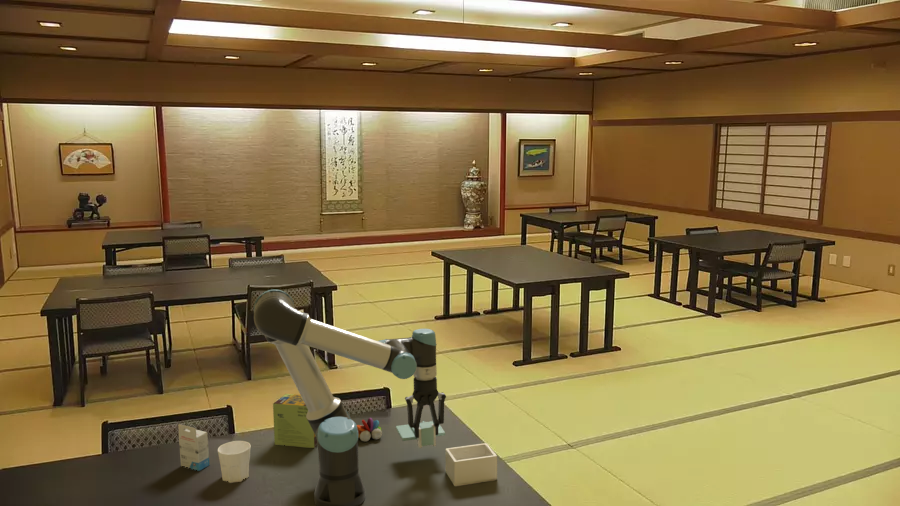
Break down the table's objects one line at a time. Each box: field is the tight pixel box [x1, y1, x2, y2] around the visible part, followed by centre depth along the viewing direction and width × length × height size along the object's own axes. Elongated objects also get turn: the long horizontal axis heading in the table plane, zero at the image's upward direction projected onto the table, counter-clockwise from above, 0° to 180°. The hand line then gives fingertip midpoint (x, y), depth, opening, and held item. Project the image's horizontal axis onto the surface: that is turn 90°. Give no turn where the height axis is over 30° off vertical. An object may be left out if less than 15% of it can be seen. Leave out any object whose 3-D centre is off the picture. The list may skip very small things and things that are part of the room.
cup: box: [217, 440, 252, 484], centre depth 219 cm, size 10×10×10 cm
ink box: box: [177, 423, 210, 472], centre depth 226 cm, size 9×5×15 cm, turn 62°
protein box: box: [272, 393, 318, 449], centre depth 245 cm, size 10×15×16 cm
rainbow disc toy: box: [356, 417, 383, 443], centre depth 249 cm, size 8×10×7 cm
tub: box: [445, 442, 498, 487], centre depth 218 cm, size 14×10×8 cm
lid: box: [395, 420, 446, 447], centre depth 230 cm, size 15×15×6 cm
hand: (426, 445), depth 225 cm, fingers closed on lid, 4 cm apart
